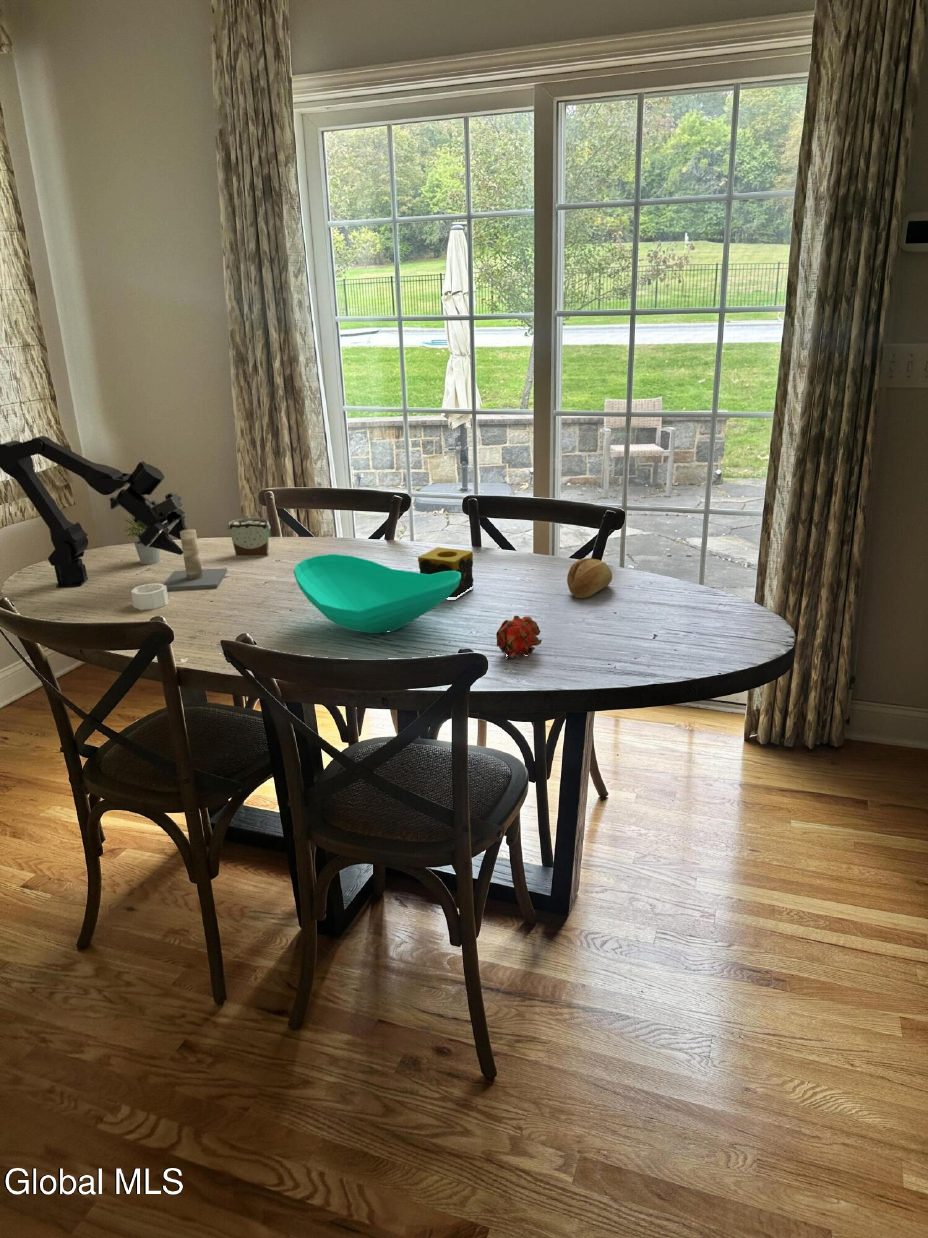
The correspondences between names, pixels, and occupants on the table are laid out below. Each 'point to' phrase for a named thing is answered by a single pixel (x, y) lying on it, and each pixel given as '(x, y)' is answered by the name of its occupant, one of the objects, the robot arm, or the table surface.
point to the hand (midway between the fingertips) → (188, 548)
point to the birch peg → (191, 554)
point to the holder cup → (149, 596)
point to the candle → (449, 565)
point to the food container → (250, 536)
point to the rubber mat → (207, 581)
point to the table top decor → (370, 591)
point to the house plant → (145, 553)
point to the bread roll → (588, 577)
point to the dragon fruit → (518, 636)
